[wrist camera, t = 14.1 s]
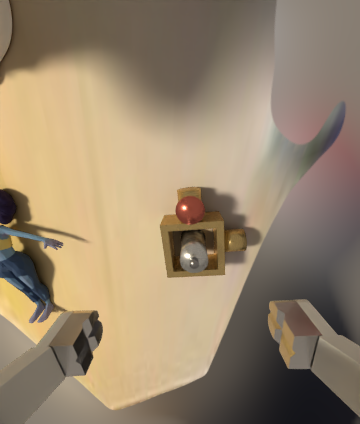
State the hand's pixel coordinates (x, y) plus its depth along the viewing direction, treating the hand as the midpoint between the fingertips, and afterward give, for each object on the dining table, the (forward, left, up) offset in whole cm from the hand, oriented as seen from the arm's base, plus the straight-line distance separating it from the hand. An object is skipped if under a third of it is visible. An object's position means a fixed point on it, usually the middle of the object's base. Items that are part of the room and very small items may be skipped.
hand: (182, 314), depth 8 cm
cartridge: (0, -8, -25) cm, 26 cm away
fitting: (+2, -6, -25) cm, 25 cm away
